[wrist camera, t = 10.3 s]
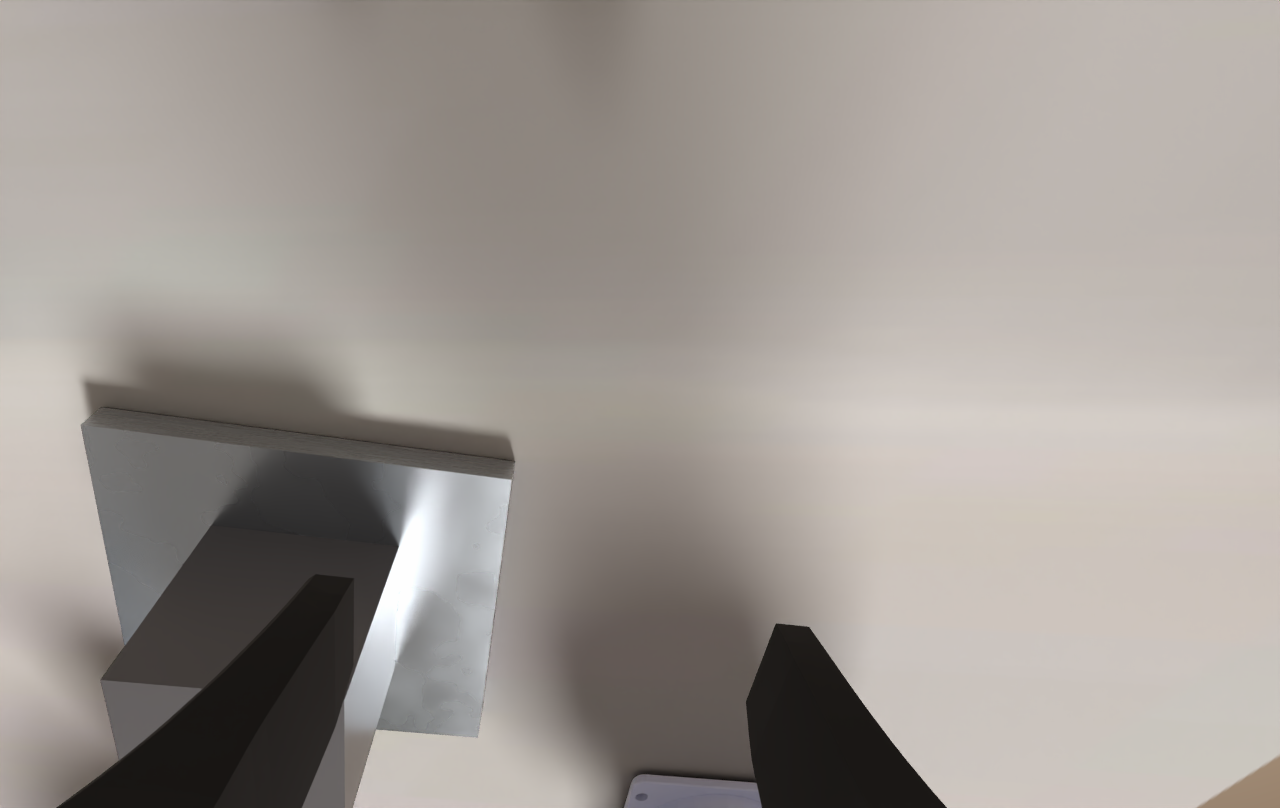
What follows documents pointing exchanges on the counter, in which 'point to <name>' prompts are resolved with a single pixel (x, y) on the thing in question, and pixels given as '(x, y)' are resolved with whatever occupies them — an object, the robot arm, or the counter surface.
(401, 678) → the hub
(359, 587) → the grey cube with stripe
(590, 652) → the counter surface
